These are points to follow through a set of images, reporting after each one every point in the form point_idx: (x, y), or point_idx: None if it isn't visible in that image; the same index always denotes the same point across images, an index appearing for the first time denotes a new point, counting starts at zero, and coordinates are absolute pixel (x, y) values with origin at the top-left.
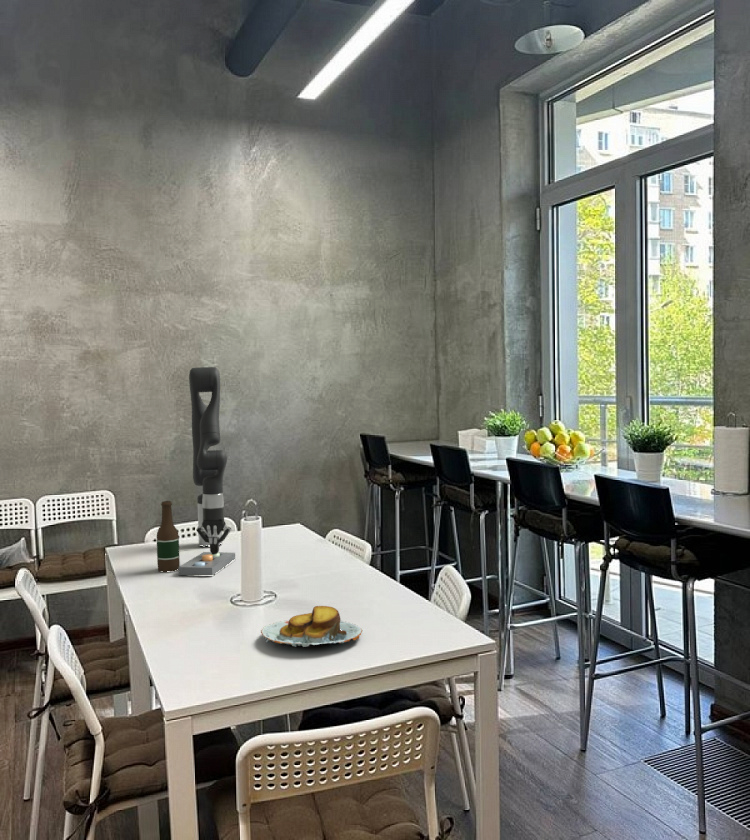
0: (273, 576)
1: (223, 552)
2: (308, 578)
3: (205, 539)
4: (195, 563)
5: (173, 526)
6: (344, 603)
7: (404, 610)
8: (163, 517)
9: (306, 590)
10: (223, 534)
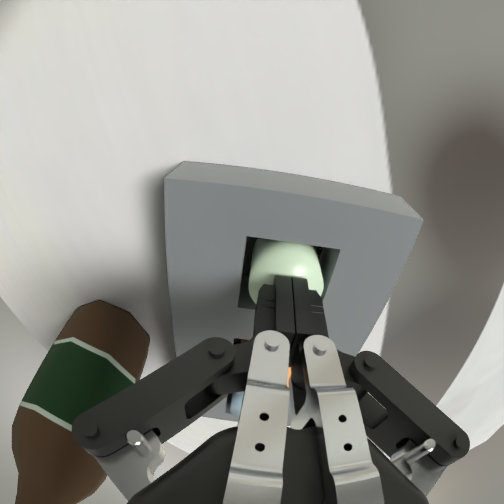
0: (458, 381)
1: (342, 204)
2: (500, 376)
3: (208, 395)
4: (237, 414)
5: (78, 499)
6: (467, 431)
7: (493, 425)
8: None
9: (461, 418)
10: (382, 442)
